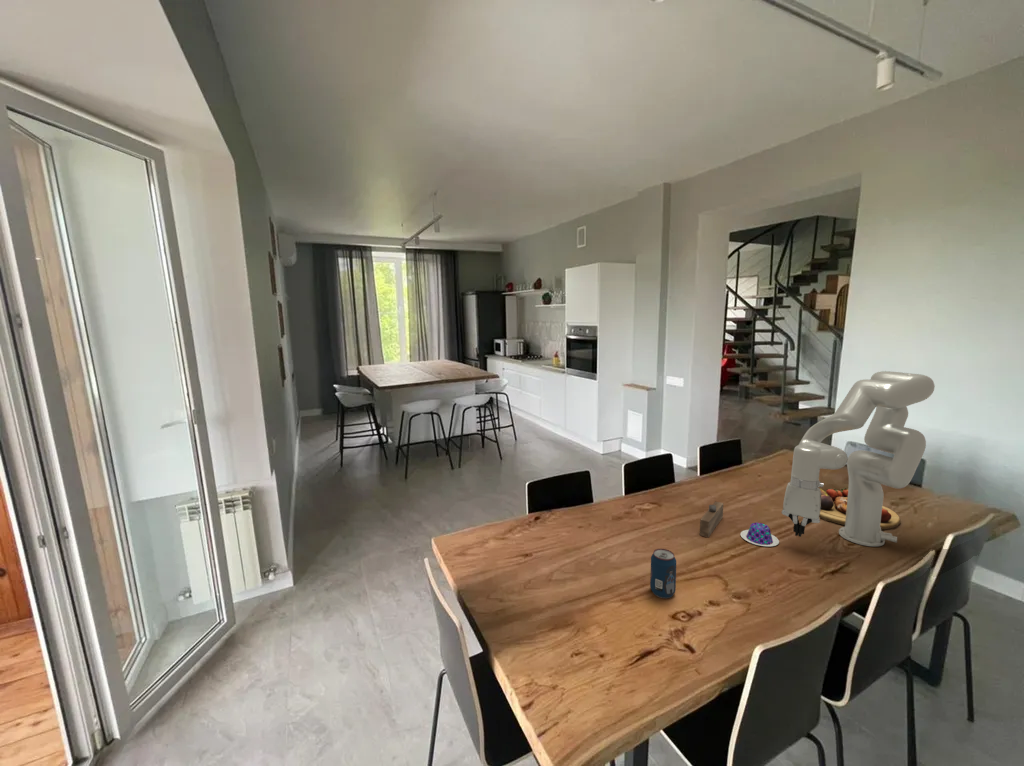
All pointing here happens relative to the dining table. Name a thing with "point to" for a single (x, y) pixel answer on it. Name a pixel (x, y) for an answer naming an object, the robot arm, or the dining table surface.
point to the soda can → (663, 573)
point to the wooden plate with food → (837, 504)
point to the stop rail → (711, 519)
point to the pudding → (759, 535)
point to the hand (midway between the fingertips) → (798, 534)
